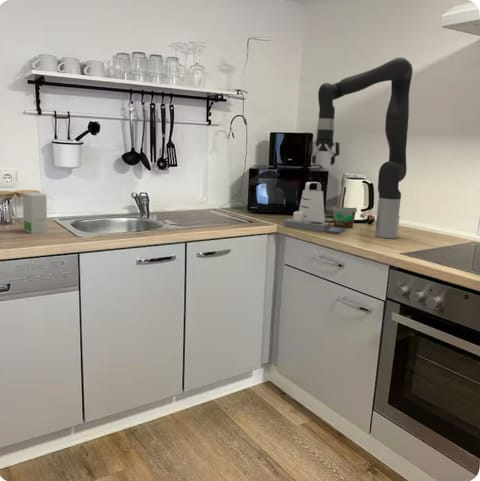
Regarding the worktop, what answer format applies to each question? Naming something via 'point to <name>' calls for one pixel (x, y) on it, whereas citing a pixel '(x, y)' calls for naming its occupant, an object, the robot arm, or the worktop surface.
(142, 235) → the worktop surface
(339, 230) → the phone
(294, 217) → the block
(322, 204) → the grater
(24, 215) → the skincare box
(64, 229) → the worktop surface
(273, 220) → the worktop surface
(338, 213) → the food container
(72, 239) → the worktop surface
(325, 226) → the power strip
